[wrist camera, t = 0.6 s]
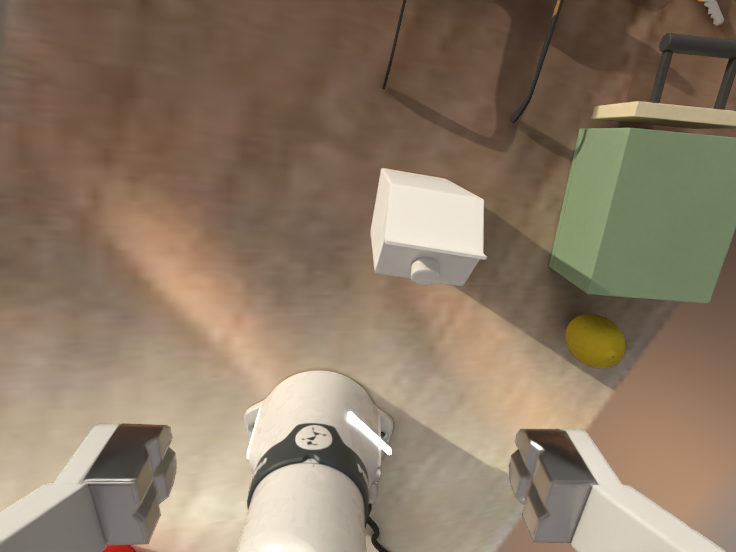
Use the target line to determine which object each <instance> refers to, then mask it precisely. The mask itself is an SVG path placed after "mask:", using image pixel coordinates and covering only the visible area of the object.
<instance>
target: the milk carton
mask: <svg viewBox="0 0 736 552" xmlns="http://www.w3.org/2000/svg"><path fill="white" fill-rule="evenodd" d="M483 224H484V200H483V199H482V198H480V197H478V196H476V195H474V194H472V193H471V192H469V191H467V190H465V189H463V188H461V187H460V186H458V185H456V184H454V183H452V182H450V181H449V180H447V179H444V178H439V177H433V176H427V175H421V174H415V173H409V172H404V171H398V170H392V169H386V168H382V169H381V174H380V179H379V185H378V191H377V197H376V203H375V209H374V214H373V220H372V226H371V241H372V250H373V259H374V268H375V272H376V273H380V274H386V275H392V276H398V277H405V278H411V279H412V280H413V281H414V282H415V283H417V284H421V285H431V284H435V283H436V282H437V283H444V284H450V285H458V286H463V284H464V283H465V282H466V280H467V278H468V277H469V275H470V274H471V272H472V271H473V269H474V268H475V266H476V265H477V263H478V262H479V260H480V259H484V260H485V259H487V256H485V255H484V254H483Z"/></svg>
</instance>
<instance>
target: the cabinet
mask: <svg viewBox="0 0 736 552" xmlns="http://www.w3.org/2000/svg"><path fill="white" fill-rule="evenodd" d="M735 229H736V138H731V137H721V136H710V135H700V134H690V133H679V132H669V131H659V130H648V129H638V128H591V129H579V133H578V138H577V142H576V147H575V151H574V156H573V160H572V165H571V169H570V174H569V178H568V183H567V187H566V191H565V196H564V200H563V205H562V209H561V214H560V218H559V223H558V227H557V232H556V236H555V240H554V245H553V249H552V254H551V258H550V263H549V267H550V268H551V269H553V270H554V271H556V272H557V273H558V274H560V275H561V276H563V277H564V278H566V279H567V280H568V281H570V282H571V283H573V284H574V285H575V286H577V287H578V288H580V289H581V290H583V291H584V292H585V293H587V294H592V295H604V296H617V297H630V298H643V299H655V300H668V301H681V302H694V303H706V304H709V303H710V300H711V297H712V294H713V291H714V288H715V286H716V283H717V280H718V277H719V274H720V271H721V269H722V265H723V263H724V260H725V257H726V254H727V251H728V249H729V246H730V243H731V240H732V237H733V234H734V232H735Z"/></svg>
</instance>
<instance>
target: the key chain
mask: <svg viewBox="0 0 736 552" xmlns="http://www.w3.org/2000/svg"><path fill="white" fill-rule="evenodd" d="M698 1H699V2H701V1H702V2H706V3H704V6H706V8H707V7H709V9H708V15H709V14H711V16H710V17H711V18H713V19H714V22H713V24H714V25H715V24H716V26H717V25H720V24H722V23H723V21H724V18H723V16H722V13H721V11H720V8H719V6H718V4H717V1H716V0H698Z"/></svg>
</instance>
